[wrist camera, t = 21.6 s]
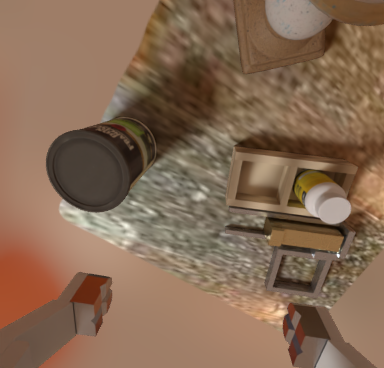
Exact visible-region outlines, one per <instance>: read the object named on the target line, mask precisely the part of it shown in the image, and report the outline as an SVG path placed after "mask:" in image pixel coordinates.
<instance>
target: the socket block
mask: <svg viewBox="0 0 384 368" xmlns="http://www.w3.org/2000/svg"><path fill="white" fill-rule="evenodd" d="M229 212H235V213H243V214H250V215H258V216H265V217H273V218H280V219H287V220H295V221H302V222H310V223H317V224H325V225H332V226H335V227H336V228H337V229H338V231H339V232H340V233H341V234H342V235H343V236H344V239H343V241H342V244H341V246H340V249H339V251H338V252H335V251H328V250H321V249H313V248H306V247H299V246H292V245H284V244H281V246H280V247H279V246H275V247H274V251H273V255H272V258H271V262H270V265H269V269H268V272H267V276H266V279H265V287H266V290H267V291H274V292H281V293H288V294H295V295H302V296H308V297H315V298H317V297H318V295H319V292H320V290H321V287H322V285H323V282H324V280H325V277H326V275H327V272H328V270H329V268H330V265H331V263H332V260H337V258H342V259H345V257H346V254H347V252H348V250H349V247H350V245H351V243H352V240H353V238H354V236H355V233H356V232H355V231H354V230H353V229H352V228H351V227H350V226H349V225H348V224H347V223H346V222H345V221H342V222H340V223H337V224H328V223H325V222H324V221H322V220H321V219H320V218H318V217H313V216H305V215H297V214H290V213H282V212H275V211H267V210H260V209H252V208H245V207H237V206H230V205H229ZM225 233H226V234H233V235H240V236H248V237H255V238H262V239H266V237H265V234H264V231H256V230H249V229H242V228H234V227H227V226H225ZM282 255H290V256H297V257H304V258H312V259H319V263H318V265H317V268H316V271H315V273H314V276H313V278H312V281H311V284H310V285H303V284H296V283H289V282H282V281H275V278H276V274H277V271H278V268H279V265H280V261H281V258H282Z"/></svg>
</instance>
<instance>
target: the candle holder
mask: <svg viewBox="0 0 384 368" xmlns="http://www.w3.org/2000/svg"><path fill="white" fill-rule="evenodd" d="M234 10H235V18H236V27H237V35H238V43H239V52H240V60H241V66H242V72H243V74H250V73H256V72H260V71H265V70H269V69H274V68H278V67H283V66H287V65H292V64H296V63H301V62H305V61H309V60H312V59H316V58H319V57H321V56H323V55H324V51H325V28H326V27H327V26H328V25H329V24H330V23H331V21H332V20H333V19H335V20H337V21H339V22H342V23H346V24H351V25H356V26H375V25H382V24H384V0H234Z"/></svg>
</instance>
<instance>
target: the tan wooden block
mask: <svg viewBox="0 0 384 368" xmlns="http://www.w3.org/2000/svg"><path fill="white" fill-rule="evenodd" d="M263 231H264V234H265V237H266V239H267V242H268V245H272V246H279V247H280V246H281V244H284V245H292V246H299V247H306V248H313V249H321V250H328V251H335V252H338V251H339V249H340V246H341V244H342V241H343V239H344V236H343V235H342V234H341V233H340V232H339V231H338V229H337V228H336V227H335V226H332V225H325V224H317V223H310V222H302V221H295V220H287V219H280V218H273V217H266V220H265V224H264V228H263Z"/></svg>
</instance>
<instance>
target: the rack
mask: <svg viewBox="0 0 384 368" xmlns="http://www.w3.org/2000/svg"><path fill="white" fill-rule="evenodd" d="M304 169H315V170H320V171H322V172H323V173H324V174H326V175H327V176H328V177H329V178H330V179H332V180H333V181H334V182H335V183H337V184H338V185H339V186H340V187H341V188H342V189H343V190H344V191H345V194H346V197H347V195H348V192H349V190H350V187H351V185H352V182H353V179H354V177H355V174H356V172H357V169H358V166H356V165H354V164H352V163H350V162H348V161H346V160H345V159H337V158H328V157H320V156H312V155H304V154H296V153H288V152H279V151H271V150H263V149H255V148H247V147H239V146H234V149H233V154H232V160H231V166H230V172H229V177H228V183H227V189H226V195H225V196H226V205H230V206H237V207H245V208H252V209H260V210H267V211H275V212H282V213H290V214H297V215H305V216H313V215H312V214H310V213H309V212H308V210H307V209H306V208H305V207H304V205H303V204H302V203H301V201H300V200H299V198H298V197H297V196H296V194H295V193H294V191H293V189H292V186H293V182H294V179H295V176H296V174H297V173H299V172H300V171H302V170H304ZM313 217H315V216H313Z"/></svg>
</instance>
